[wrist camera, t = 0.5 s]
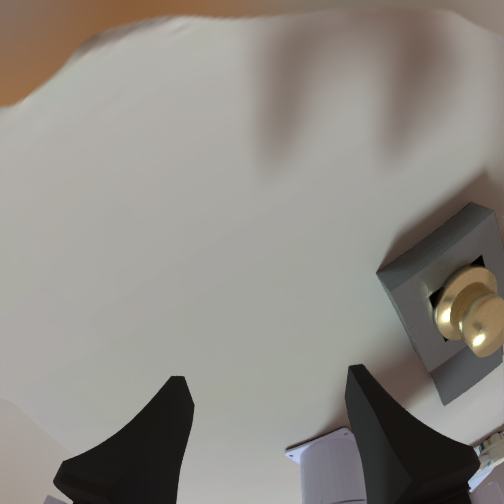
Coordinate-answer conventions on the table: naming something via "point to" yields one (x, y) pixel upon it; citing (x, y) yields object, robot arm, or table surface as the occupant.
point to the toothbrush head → (492, 451)
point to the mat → (463, 372)
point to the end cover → (471, 310)
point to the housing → (441, 276)
